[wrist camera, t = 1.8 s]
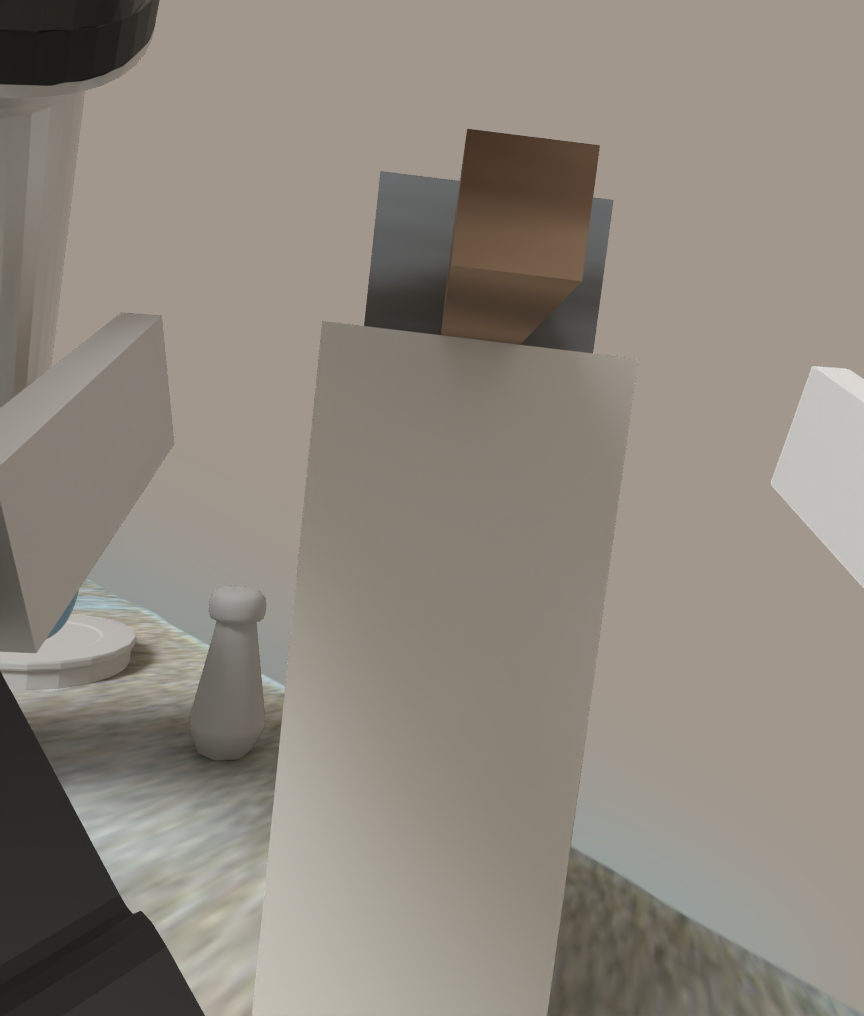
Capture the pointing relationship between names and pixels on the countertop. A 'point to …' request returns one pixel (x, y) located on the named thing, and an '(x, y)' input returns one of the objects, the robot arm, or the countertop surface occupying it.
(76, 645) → the lid
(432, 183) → the panel with wooden post
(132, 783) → the countertop surface
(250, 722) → the salt shaker
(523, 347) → the pedestal
